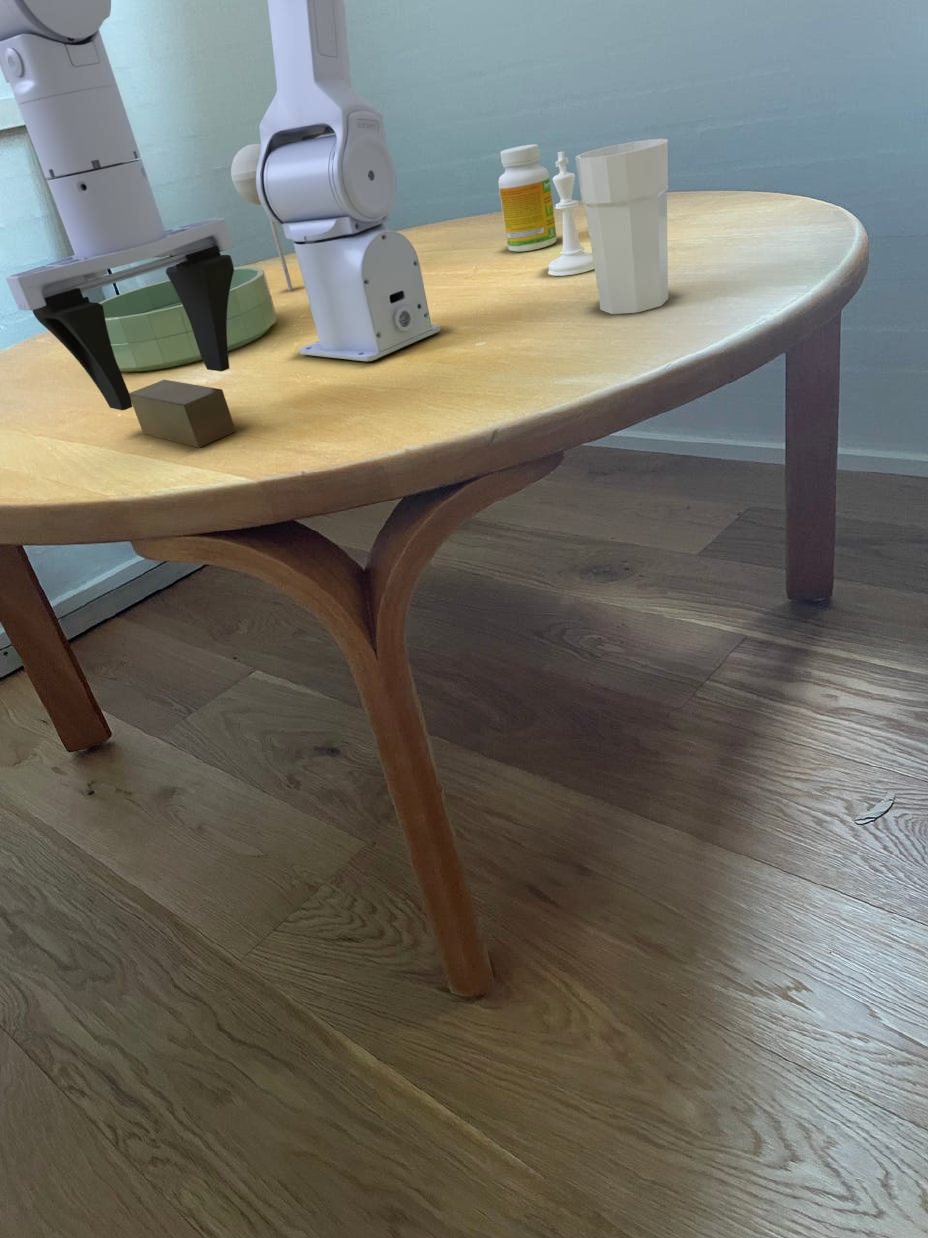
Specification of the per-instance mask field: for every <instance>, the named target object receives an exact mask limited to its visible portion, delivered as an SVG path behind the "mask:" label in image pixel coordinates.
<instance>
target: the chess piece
mask: <svg viewBox="0 0 928 1238" xmlns="http://www.w3.org/2000/svg"><path fill="white" fill-rule="evenodd" d="M565 156H566V155H565V151H564V150H563V151H558V152H557V160H556V161H555V162H554V164H555V168H558V169H559V172H558V174H556V175H553V177H552V183H553V185H554V187H555V189H556V191H557V194H558V196H559V198H560V200H559V202H557V203H556V204H555V207H554V208H555V209H556V210H561V211H562V212H561V213H562V250H561V251H559V254H560V256H559V257H557V258H555V259H553V260H552V261H551V262H549V263H548V265H547V268H548V271H547V274H548V275H550V276H552V277H553V276H554V277H565V276H572V275H579V274H583V273H587V272H589V271H593V270H595V268H594V262H593V256H592V252H585V251H584V250H585V247H583V246H582V244H581V242H580V237H579V233H578V229H577V225H576V220H575V215H574V209H573V208H574V207H577V206H578V205H579V201H578V200H577V199H573V197H572V196H573V192H574V184H575V180H576V175H575V173H573V172H569V171H567V164H570V161H569V157H565Z"/></svg>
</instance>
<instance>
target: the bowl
mask: <svg viewBox="0 0 928 1238" xmlns="http://www.w3.org/2000/svg"><path fill="white" fill-rule="evenodd" d="M98 303H99V304H101V305H103V310H104V315H105V321H106V326H107V330H108V335H109V338H110V342H111V346H112V350H113V353H114V356H115V359H116V362H117V365H118V367H119V369H120V372H125V373H126V372H127V373H136V372H148V371H156V370H163V369H168V368H174V367H178V366H183V365H187V364H192V363H196V362H199V361H203V359H202V357H201V355H200V352H199V349H198V346H197V342H196V339H195V336H194V333H193V330H192V327H191V324H190V321H189V318H188V316H187V314H186V311H185V309H184V307H183V305H182V302H181V300H180V298H179V296H178V294H177V292H176V290H175V288H174V286H173V284H172V283H171V281H170V279H167V280H164V281H160V282H156V283H153V284H148V285H145V286H142V287H138V288H136V289H135V288H134V289H131V290H129V291H126V292H123V293H120V294H118V295H115V296H113V297H109V298H107V299H104V300H101V301H100V302H98ZM276 322H277V312H276V308H275V305H274V301H273V298H272V295H271V290H270V287H269V284H268V280H267V276H266V274H265V269H262V268H260V267H257V266H256V267H255V266H253V267H252V266H245V267H244V266H239V267H234V273H233V277H232V281H231V286H230V292H229V298H228V307H227V347H228V352H230V351H233V350H236V349H238V348H241V347H243V346H245V345H248V344H249V343H252V342H253V341H255V340H257V339H258V338H259V339H260V337H262V336H264V335H265V334H266V333H267V332H268V331H269V330H270V328H271V326H273V325H274V324H276Z"/></svg>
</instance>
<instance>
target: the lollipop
mask: <svg viewBox="0 0 928 1238" xmlns="http://www.w3.org/2000/svg"><path fill="white" fill-rule="evenodd" d="M260 152H261V143H250V144H248V145H245V146H243V147H242V148H241V149H240V150H238V152H237V153H236V155H234V158H233V160H232V162H231V167H230V168H231V169H230V177H231V182H232V184H233V186H234V188H235V190H236V191H237V193H238V194H239V195H240V196H241V197H242V198H243V199H244V200H245V201H247V202H249V203H250V204H254V205H256V206H257V205H259V206H262V204H261V202H260V199H259V196H258V192H257V185H256V171H257V165H258V162H259V158H260ZM268 219H269V222H270V226H271V230H272V234H273V237H274V241H275V244H276V249H277V252H278V255H279V259H280V262H281V267H282V270H283V274H284V277H285V280H286V284H287V288H288V291H289V292H292V291H294V288H293V284H292V281H291V277H290V273H289V270H288V266H287V262H286V258H285V255H284V251H283V247H282V244H281V240H280V235H279V233H278V230H277V224H276V223H274V222H273V221H272V220H271V219H270V217H269V216H268Z"/></svg>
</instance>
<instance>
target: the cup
mask: <svg viewBox="0 0 928 1238" xmlns="http://www.w3.org/2000/svg"><path fill="white" fill-rule="evenodd" d="M575 165H576V172H577V179H578V184H579V185H578V186H579V192H580V197H581V198H580V199H581V203H582V205H583V206H584V210H585V218H586V223H587V230H588V235H589V242H590V249H591V253H592V256H593V262H594V268H595V269H594V274H595V280H596V286H597V294H598V300H599V309H600V311H602V312H605V313H607V314H611V315H621V314H635V313H636V314H637V313H641V312H644V311H648V310H652V309H655V308H658V307H662V306H663V305H664V304H665V303H666V302H667V301H668V300H669V267H668V266H669V265H668V263H669V257H668V189H669V185H670V184H669V183H670V181H669V178H670V177H669V176H670V175H669V139H668V138H652V139H651V138H649V139H643V140H634V141H629V142H624V143H618V144H612V145H608V146H604V147H600V148H596V149H593V150H589V151H586V152H582V153H580V154H577V155H576V156H575Z"/></svg>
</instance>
